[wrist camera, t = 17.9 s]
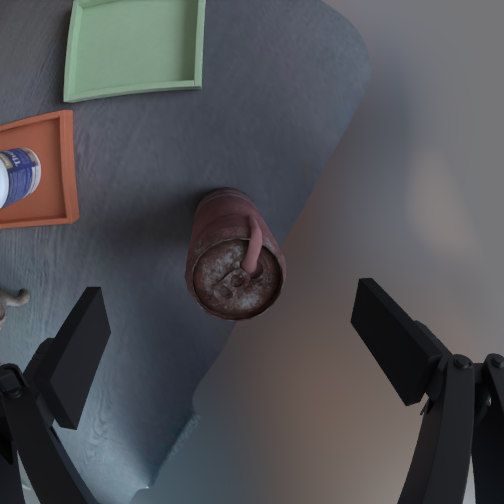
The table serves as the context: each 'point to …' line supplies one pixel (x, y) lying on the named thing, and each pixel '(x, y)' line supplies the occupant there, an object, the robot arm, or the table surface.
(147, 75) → the sage tray
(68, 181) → the terracotta tray
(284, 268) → the can
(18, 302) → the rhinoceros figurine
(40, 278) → the table surface
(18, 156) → the pill bottle
